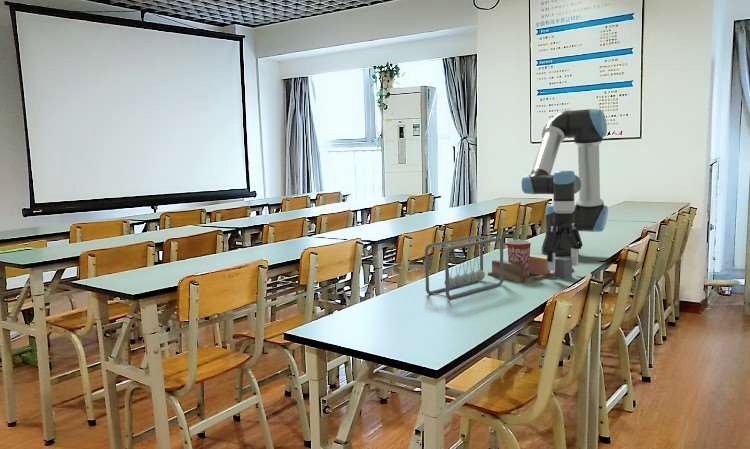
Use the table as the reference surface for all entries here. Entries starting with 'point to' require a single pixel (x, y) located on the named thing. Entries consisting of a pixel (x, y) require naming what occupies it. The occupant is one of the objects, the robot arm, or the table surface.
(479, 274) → the newton's cradle
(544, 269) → the block
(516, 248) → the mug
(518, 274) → the clamp bed
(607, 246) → the table surface
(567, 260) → the lock block
